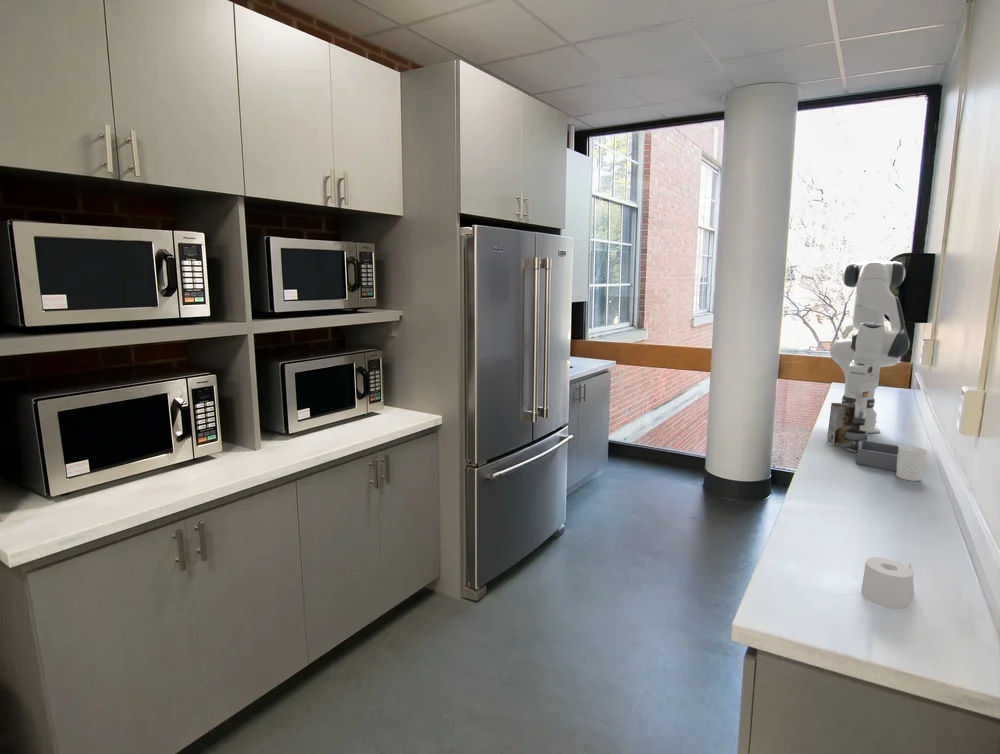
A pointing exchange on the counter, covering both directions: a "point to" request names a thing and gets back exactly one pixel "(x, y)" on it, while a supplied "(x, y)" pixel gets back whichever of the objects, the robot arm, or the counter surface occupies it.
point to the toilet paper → (888, 582)
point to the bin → (877, 455)
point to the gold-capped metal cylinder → (860, 411)
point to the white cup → (910, 462)
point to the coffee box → (841, 424)
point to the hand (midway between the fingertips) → (861, 402)
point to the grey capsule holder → (855, 439)
